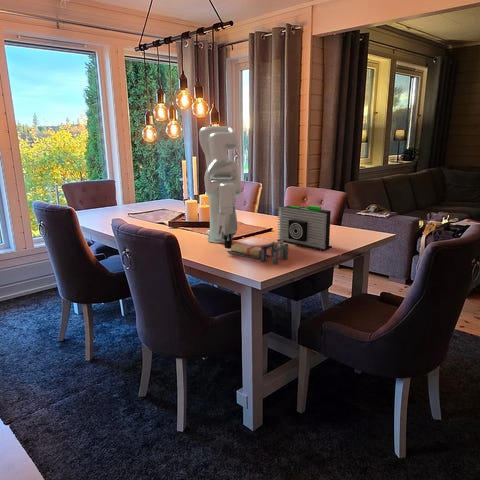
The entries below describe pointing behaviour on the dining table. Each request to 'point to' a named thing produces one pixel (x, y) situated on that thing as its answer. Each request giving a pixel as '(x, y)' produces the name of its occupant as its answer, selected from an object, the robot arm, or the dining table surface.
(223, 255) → the dining table surface
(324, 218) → the electronic device
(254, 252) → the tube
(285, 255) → the collar rig
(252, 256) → the guide
